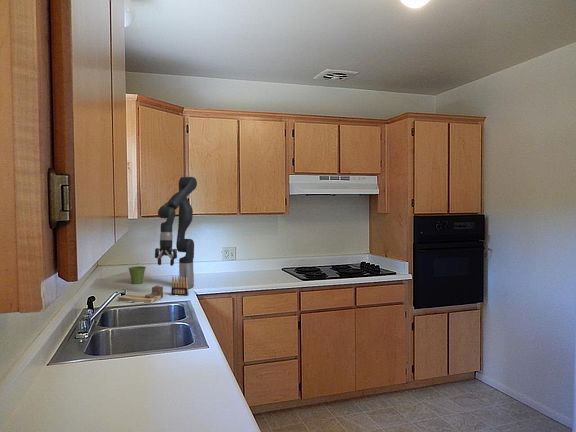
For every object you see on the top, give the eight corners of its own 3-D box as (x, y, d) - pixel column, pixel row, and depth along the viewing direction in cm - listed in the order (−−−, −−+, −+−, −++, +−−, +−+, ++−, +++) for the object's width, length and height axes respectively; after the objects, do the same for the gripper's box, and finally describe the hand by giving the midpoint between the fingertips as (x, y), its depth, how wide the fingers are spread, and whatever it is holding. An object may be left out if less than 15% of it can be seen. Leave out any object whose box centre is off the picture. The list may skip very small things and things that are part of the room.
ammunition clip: (188, 295, 248) (188, 276, 248) (187, 295, 246) (187, 276, 246) (172, 294, 250) (172, 275, 249) (171, 295, 248) (170, 276, 247)
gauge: (155, 297, 243) (155, 284, 243) (163, 297, 242) (162, 285, 241) (143, 302, 232) (143, 289, 231) (151, 302, 230) (150, 289, 230)
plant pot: (131, 285, 275) (131, 269, 274) (126, 283, 284) (125, 267, 284) (148, 283, 282) (148, 267, 282) (142, 280, 292) (142, 265, 291)
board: (129, 297, 243) (129, 293, 243) (160, 299, 237) (160, 295, 237) (118, 301, 233) (118, 297, 233) (150, 304, 227) (150, 299, 227)
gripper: (179, 239, 248) (179, 265, 248) (159, 238, 252) (159, 264, 252) (173, 239, 241) (172, 266, 241) (152, 239, 245) (152, 265, 245)
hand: (165, 265), depth 247 cm, fingers open, 8 cm apart
